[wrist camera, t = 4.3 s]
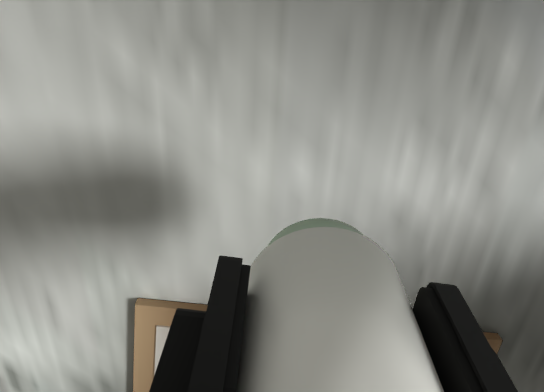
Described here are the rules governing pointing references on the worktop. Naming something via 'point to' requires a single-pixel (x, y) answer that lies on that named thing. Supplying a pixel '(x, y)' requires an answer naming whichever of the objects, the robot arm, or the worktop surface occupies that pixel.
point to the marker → (330, 317)
